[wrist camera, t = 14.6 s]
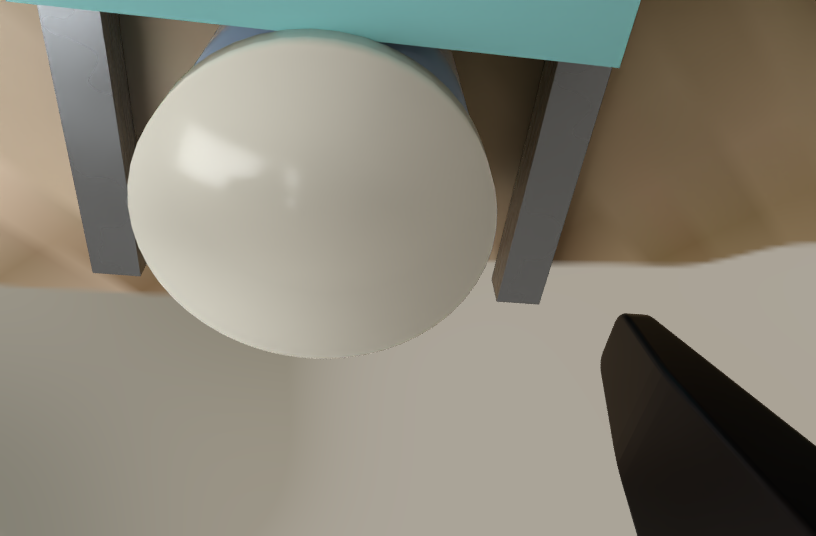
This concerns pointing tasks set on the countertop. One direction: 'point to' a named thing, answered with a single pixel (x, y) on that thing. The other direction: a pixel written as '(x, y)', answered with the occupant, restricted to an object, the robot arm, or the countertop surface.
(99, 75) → the gray u-shaped archway
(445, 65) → the jar
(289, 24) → the teal foam pad
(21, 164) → the countertop surface
